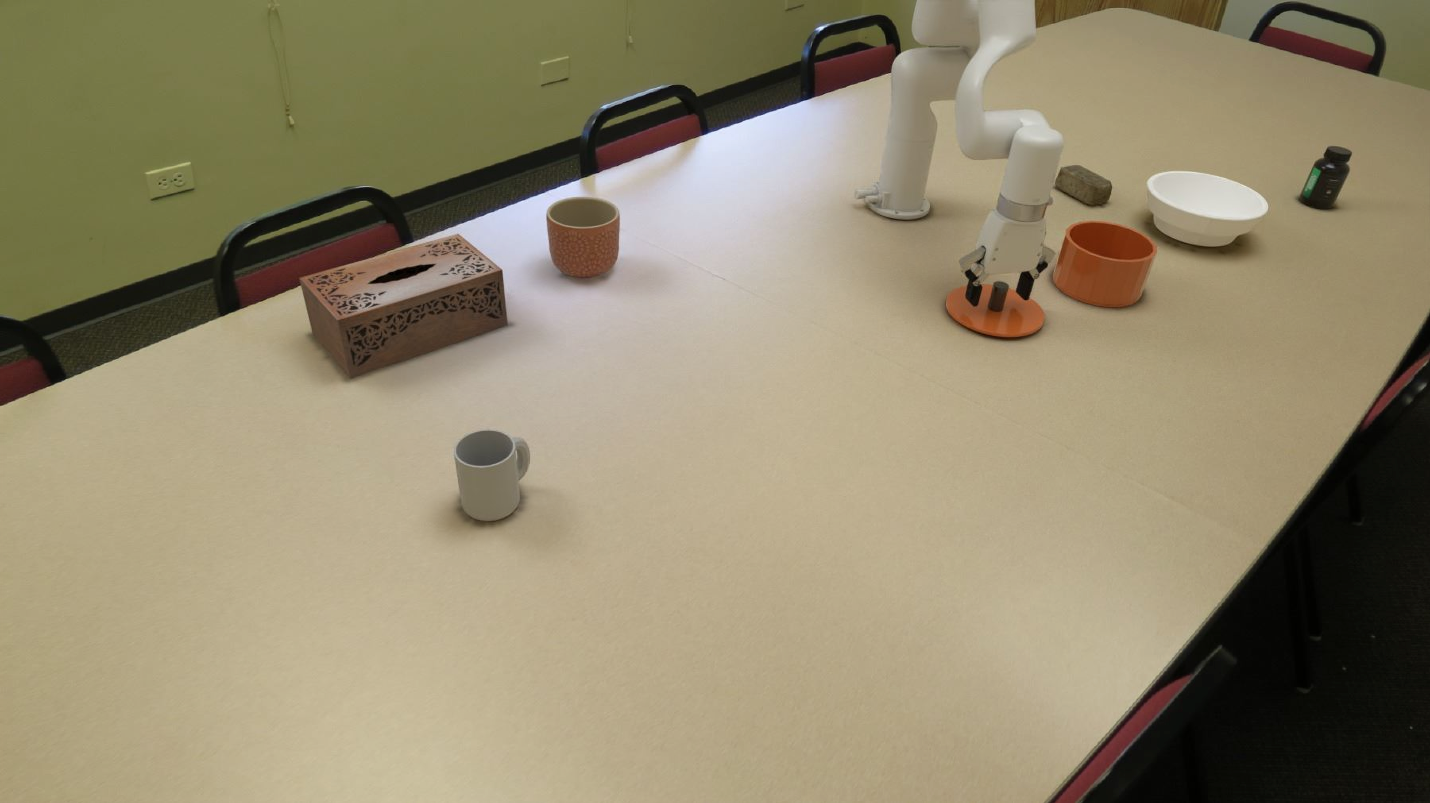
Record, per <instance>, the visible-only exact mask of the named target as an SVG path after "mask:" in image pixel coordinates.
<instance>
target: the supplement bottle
mask: <svg viewBox="0 0 1430 803" xmlns="http://www.w3.org/2000/svg"><path fill="white" fill-rule="evenodd" d="M1352 154H1353V151H1352V150H1351V149H1348V148H1346V147H1343V146H1339V145H1329V146H1327V147H1326V150H1325V151H1324V153H1323V157H1320V158H1318V159H1316V160H1315V161H1314V163H1313V165H1312V168H1311V169H1310V172H1309V174H1308V176H1307V178H1306V181H1305V183H1304V185H1303V187H1302V189H1301V192H1300V194H1299V197H1298V198H1299V201H1300V202H1301V203H1302V204H1304V205H1306V206H1308V207H1310V208H1315V209H1320V210H1327V209H1331V208H1333V207H1334V205H1335V203H1336V201H1337V200H1338V197H1339V195H1340V194H1341V191H1342V189H1343V186H1344V185H1345V182H1346V180H1347V179H1348V176H1349V174H1350V172H1351V167H1350V165H1349V164H1348V163H1349V162H1350V160H1351V157H1352Z"/></svg>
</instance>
